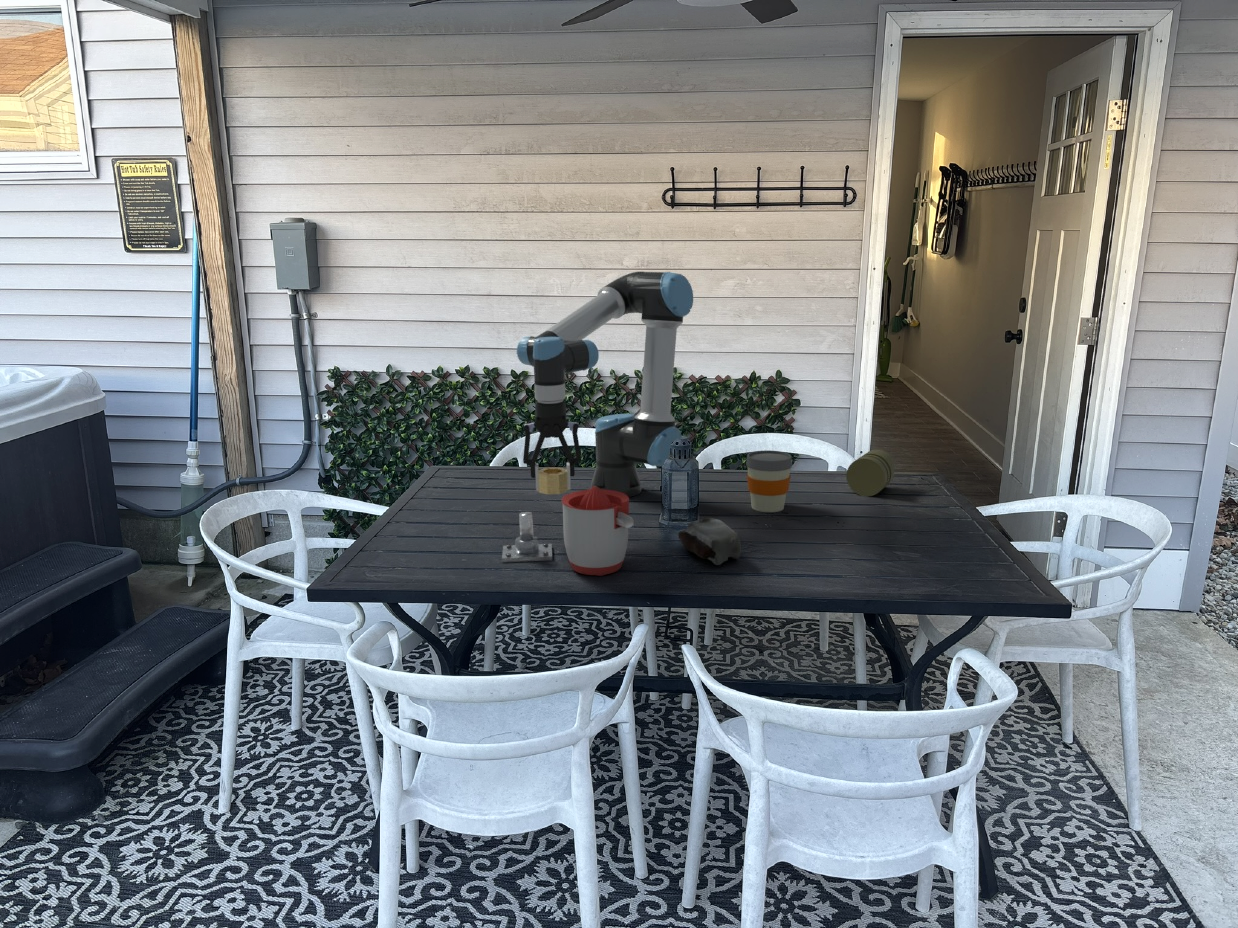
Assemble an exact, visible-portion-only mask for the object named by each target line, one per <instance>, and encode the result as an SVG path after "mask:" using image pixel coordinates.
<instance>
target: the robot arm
mask: <svg viewBox="0 0 1238 928" xmlns="http://www.w3.org/2000/svg"><path fill="white" fill-rule="evenodd" d="M693 305H694V292H693V288H692V285H691V283H690V282H689V280H688V279H687V277H686V276H685V275H683V274H682V273H678V272H677V273H676V272H671V271H666V272H663V271H661V272H660V271H633V272H631V273H628V274H625V275H623V276H620V277H618V278H616V279H614V280H613V281H611V282H609V283H608V284H606V285H605V286H603V287H602V288H600V290H599V291H598V292H597V295H596V296H595V297H594V298H592V299H591V300H590V299H589V301H587V302H586V303H584V304H583V305H582V306H579V308H577V309H576V310H574V311H573V312H571V313H570V314H568V315H567V316H565V317H564V318H562V319H560V321H558V322H557V323H555V324H553V325H551V326H550V327H549V328H547V329H546V330H545V331H543V332H542V333H540V334H539V335H537V336H531V335H530V336H525V337H522V338H521V339H520V340H519V342H518V344H517V346H516V354H517V358H518V360H519V362H521V364H523V365H525V366H531V367H533V376H534V380H533V381H534V399H535V400H536V401H535V403H534V407H535V411H534V412H535V419H534V421H533V422H531V423H524V425H523V429H524V433H525V437H524V446H523V447H524V449H523V455H522V456H523V457H522V458H523V459H522V463H523V464H525V465H529V466H530V476H531V478H532V479H535V492H539V477H538V470H539V463H537V461H538V457H539V456H540V452H541V449H542V446H543V443H544V441H545V439H549V438H555V439H557V438H558V441H559V442H560V444H561V447H562V448H563V449H562V450H563V451H564V454H565V456H566V458H567V460H568V462H566V469H567V485H568V491H571V477H575V465H576V464H577V463H579V462H581V461H582V456H581V449H580V442H579V436H578V432H579V431H578V430H579V422H578V421H574V422H573V421H569V420H568V418H567V409H566V408H567V407H566V405H567V404H566V401H565V399H566V375H565V374H570V373H574V372H581V371H586V370H589V369H592V368H593V367H596V365H597V364H598V361H599V356H600V354H599V349H598V347H597V345H596V343H595V342H593V341H592V340H590V339H586V338H587V337H589V335H592V334H593V333H594V332H595V331H596V330H598V329H599V328H601V327H603V326H604V325H605V324H607V323H609V321H611V320H612V319H614V320H615V319H620V318H621V317H623V316H624V315H627V314H635V313H636V314H641V322H642V323H643V324H644V325H645V327H646V328H645V338H644V340H645V342H644V355H643V356H644V357H643V365H642V366H643V368H642V369H643V370H642V381H641V396H640V410H639V411H638V413H637V414H633V413H619V414H617V413H616V414H610V415H605V416H602V417H599V418H598V419H597V420H596V421H595V431H594V434H595V435H594V436H595V460H596V463H595V464H596V465H595V470H594V474H593V476H592V479H591V483H590V489H591V488H592V487H593V486H597V487H598V488H599V489H602V490H613V491H618V492H621V493H624V494H626V495H627V496H628V498H631V497H633V496H637V495H639V494H640V493H642V482H641V478H640V475H639V473H638V470H637V467H636V463H639V464H640V463H641V464H645V465H649V466H652V467H655V466H656V467H664V466H663V465H664V462H665V460H666V459H668V457H669V454H670V447H671V443H672V442H673V441H674V440H675V439H678V438H682V439H683V436H682V431H681V430H680V429H679V428H677V427H676V419H675V417H674V416H673V415H672V413H671V407H672V396H673V395H672V394H673V382H674V370H675V357H676V356H675V355H676V344H677V333H678V332H677V329H678V328H679V327H680V326H681V325H682V324H683V323H684V317H685V316H687V315H688V314H690V312H691V309H692V308H693ZM567 427H569V430H570V432H571V434H572V438H573V445H574V447H573V448H574V452H575V456H573V454H572V451H571V449H570V447H569V445H568V443H567V439H566V438H565V435H564V431H565V430H566V428H567ZM534 428H535V429H536V430H537V432H538V433H539V436H538V439H537V441H536V445H535V447H534V450H533V453H532V456H531V458H530V457H529V453H530V445H531V444H530V443H531V433H533V431H534Z"/></svg>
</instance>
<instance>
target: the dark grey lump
mask: <svg viewBox="0 0 1238 928" xmlns="http://www.w3.org/2000/svg"><path fill="white" fill-rule="evenodd" d="M677 535H678V539H679V541H680V543H681V544H682V546H683V547H684V549H686V550H688V551H689V552H691V553H694V554H695V555H696V556H697V557H699V558H700V559H703V560H709V561H710V562H712V563H713V564H714V565H716V566H721V565H722V564H723V563H725V562H726V561H728V560H729V559H728V558H732V559H736V560H737V559H740V557H741V555H742V547H741V545H742V543H741V540H740V539H741V538H740V537H739V534H738V533H737V532H736V531H734V529H732V528H731V527H729V525H727V524H726V523H725V522H724V521H723V520H720V519H718V518H717V519H716V518H715V517H714V518H713V517H705V518H703V519H702V520H700V521H691V522H690V523H689V524H687V527H686V528H685V529H684V530H680V531H679V532H678V534H677Z"/></svg>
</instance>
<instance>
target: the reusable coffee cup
mask: <svg viewBox="0 0 1238 928" xmlns="http://www.w3.org/2000/svg"><path fill="white" fill-rule="evenodd" d="M745 464H746V465H745V466H746V467H747V474H746V479H747V489H748V492H750V493H749V494H750V502H751V503H750V504H751V508H752V509H753V510H755V511H757V512H761V513H776V512H777V513H778V512H781V511H783V510H784V508H785V503H786V498H787V497H786V496H787V493H788V492H789V488H790V484H791V483H790V481H791V474H790V473H791V468H793V467H792V466H793V464H792V455H791V454H790V453H788V452H784V451H779V450H757V451H756V450H755V451H752V452H749V453H747V456H746V463H745Z"/></svg>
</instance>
